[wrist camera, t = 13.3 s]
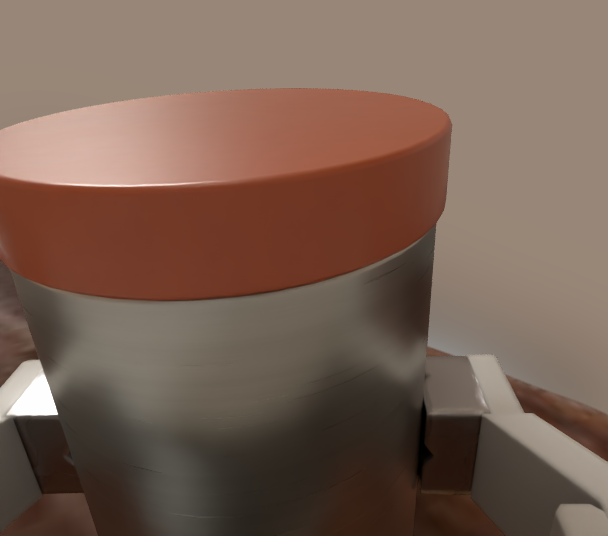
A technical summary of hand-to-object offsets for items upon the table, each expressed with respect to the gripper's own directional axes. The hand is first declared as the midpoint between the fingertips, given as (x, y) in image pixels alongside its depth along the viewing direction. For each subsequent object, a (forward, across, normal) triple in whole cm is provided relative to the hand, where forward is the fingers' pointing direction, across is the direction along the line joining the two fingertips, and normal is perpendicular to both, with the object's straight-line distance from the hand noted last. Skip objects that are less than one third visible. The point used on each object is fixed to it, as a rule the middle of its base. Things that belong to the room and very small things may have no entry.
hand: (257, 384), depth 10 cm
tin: (-1, 0, +6) cm, 6 cm away
